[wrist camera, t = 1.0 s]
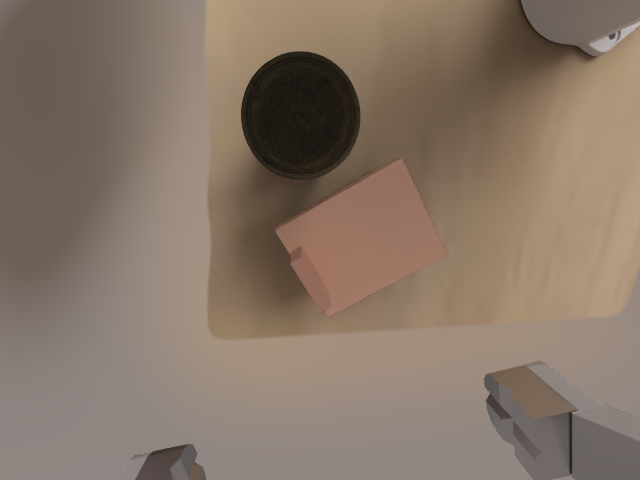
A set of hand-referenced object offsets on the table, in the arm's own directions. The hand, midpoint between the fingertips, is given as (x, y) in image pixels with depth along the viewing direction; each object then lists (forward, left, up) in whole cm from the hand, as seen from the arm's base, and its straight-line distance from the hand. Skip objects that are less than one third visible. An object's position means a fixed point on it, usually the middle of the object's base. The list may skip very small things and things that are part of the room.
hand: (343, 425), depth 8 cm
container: (-4, -9, -34) cm, 35 cm away
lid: (-4, +4, -27) cm, 27 cm away
